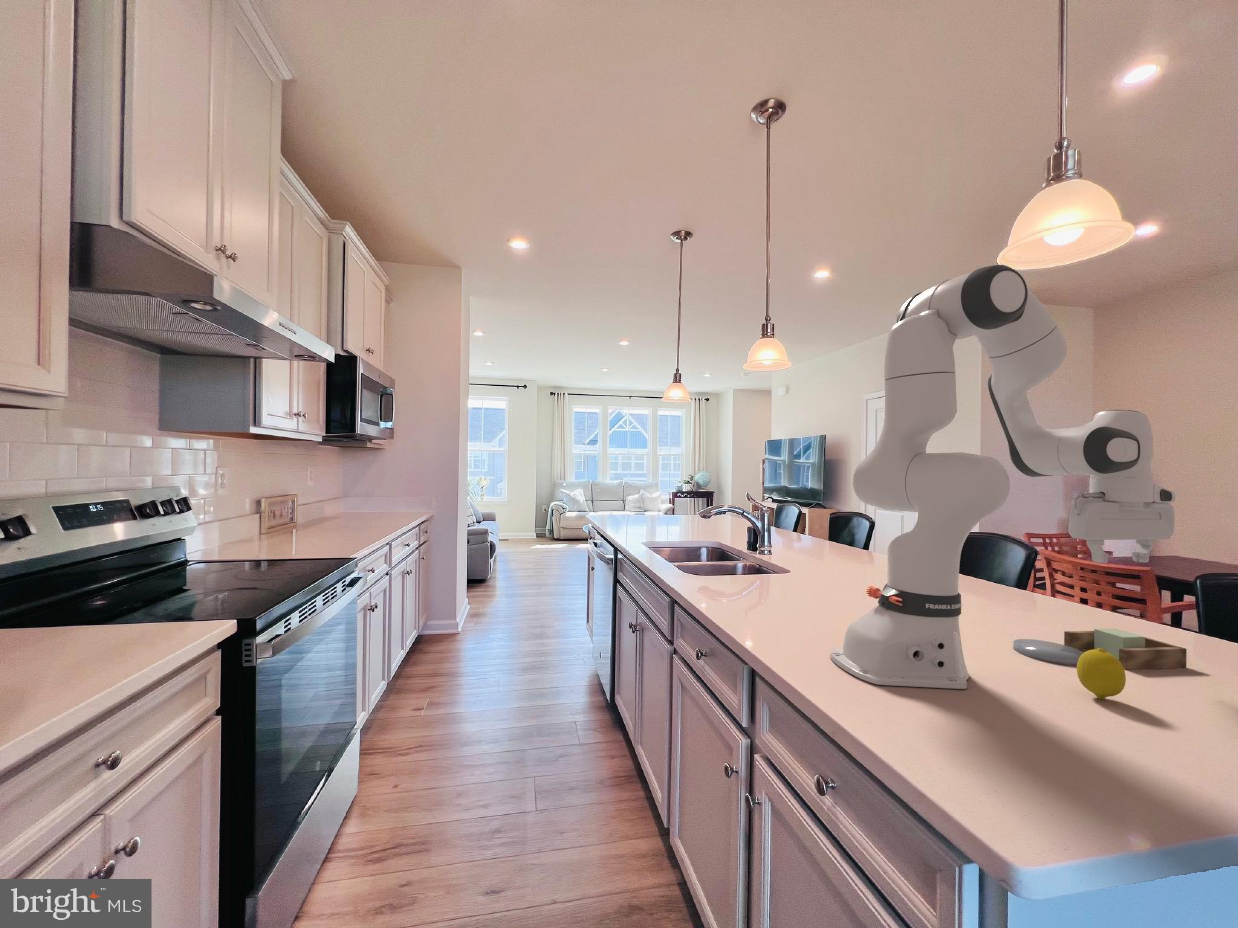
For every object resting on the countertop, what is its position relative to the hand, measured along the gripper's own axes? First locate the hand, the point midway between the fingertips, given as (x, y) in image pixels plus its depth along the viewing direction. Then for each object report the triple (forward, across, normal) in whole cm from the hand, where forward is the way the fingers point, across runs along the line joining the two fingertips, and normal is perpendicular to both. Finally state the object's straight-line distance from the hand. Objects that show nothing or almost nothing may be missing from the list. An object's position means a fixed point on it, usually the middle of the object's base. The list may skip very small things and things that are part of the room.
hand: (1120, 562), depth 96 cm
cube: (+19, 0, 0) cm, 19 cm away
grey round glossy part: (+19, -14, +2) cm, 23 cm away
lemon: (+19, -25, -16) cm, 35 cm away
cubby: (+19, 0, 0) cm, 19 cm away
